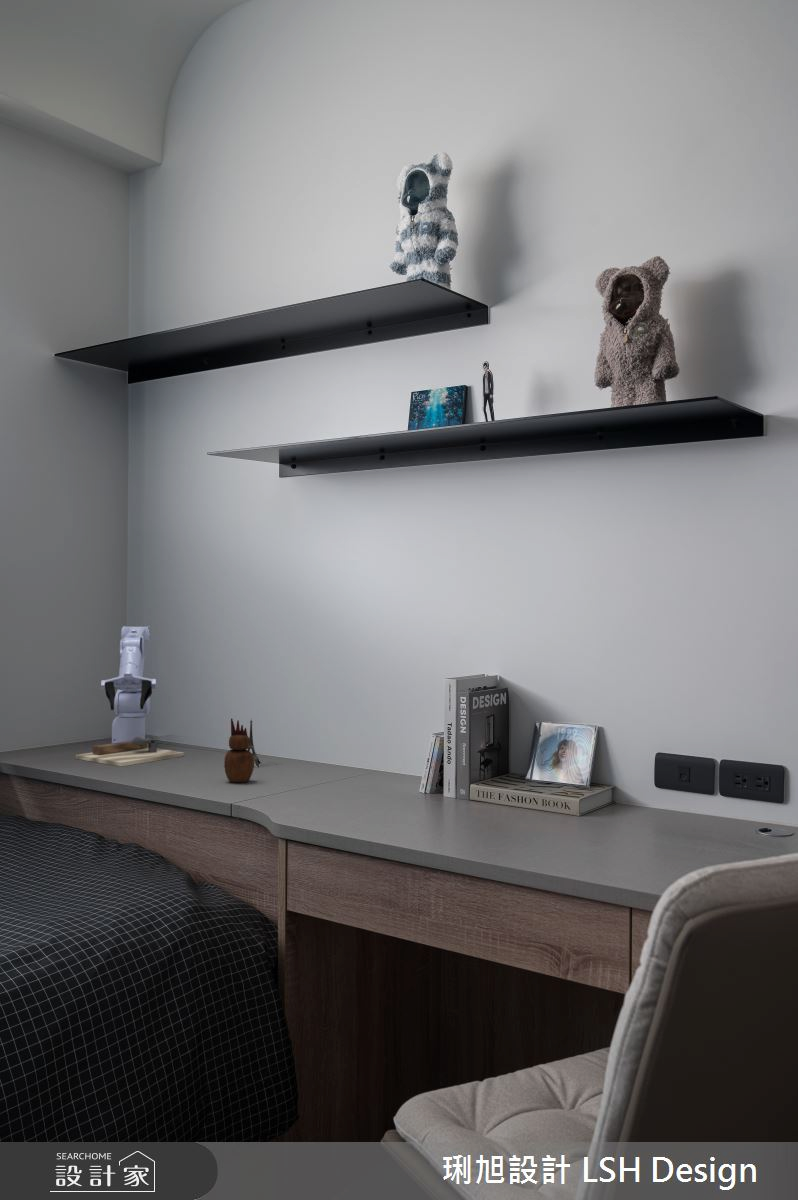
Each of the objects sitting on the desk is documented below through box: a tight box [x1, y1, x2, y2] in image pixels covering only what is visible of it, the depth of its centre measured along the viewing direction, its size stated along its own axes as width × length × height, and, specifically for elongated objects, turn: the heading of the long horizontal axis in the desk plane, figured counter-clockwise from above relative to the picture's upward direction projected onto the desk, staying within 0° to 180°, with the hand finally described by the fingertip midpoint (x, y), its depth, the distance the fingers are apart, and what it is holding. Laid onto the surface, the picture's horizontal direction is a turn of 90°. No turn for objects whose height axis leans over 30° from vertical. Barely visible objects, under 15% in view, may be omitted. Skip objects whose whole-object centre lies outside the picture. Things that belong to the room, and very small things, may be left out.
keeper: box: [132, 737, 158, 753], centre depth 264 cm, size 4×6×3 cm, turn 114°
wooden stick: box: [92, 737, 148, 755], centre depth 265 cm, size 16×3×3 cm, turn 144°
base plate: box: [75, 747, 185, 767], centre depth 261 cm, size 19×21×1 cm
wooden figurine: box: [223, 718, 255, 783], centre depth 228 cm, size 7×6×15 cm
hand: (126, 707), depth 259 cm, fingers open, 7 cm apart
